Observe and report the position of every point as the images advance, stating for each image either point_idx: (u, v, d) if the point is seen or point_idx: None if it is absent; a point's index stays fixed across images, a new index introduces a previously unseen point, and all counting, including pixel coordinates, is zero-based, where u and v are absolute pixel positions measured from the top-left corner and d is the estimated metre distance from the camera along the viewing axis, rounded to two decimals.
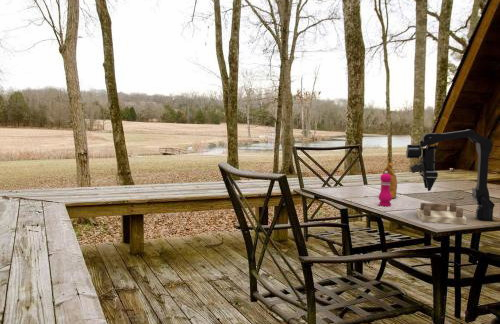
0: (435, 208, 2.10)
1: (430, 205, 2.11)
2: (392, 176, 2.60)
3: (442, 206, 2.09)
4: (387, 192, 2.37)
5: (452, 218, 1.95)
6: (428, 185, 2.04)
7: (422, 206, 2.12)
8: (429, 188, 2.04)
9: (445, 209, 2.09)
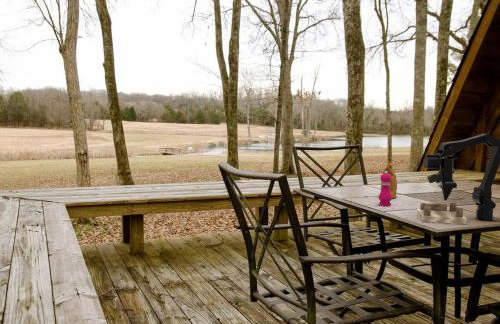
0: (435, 208, 2.10)
1: (430, 205, 2.11)
2: (392, 176, 2.60)
3: (442, 206, 2.09)
4: (387, 192, 2.37)
5: (452, 218, 1.95)
6: (444, 195, 2.03)
7: (422, 206, 2.12)
8: (445, 197, 2.04)
9: (445, 209, 2.09)
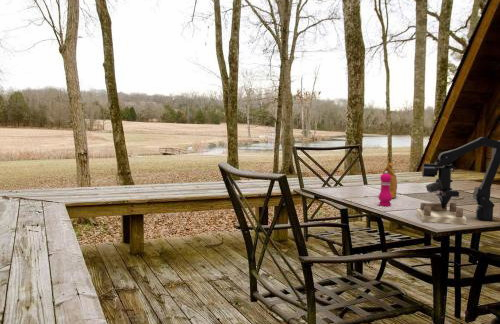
0: (435, 208, 2.11)
1: (430, 205, 2.11)
2: (392, 176, 2.60)
3: None
4: (387, 192, 2.37)
5: (452, 218, 1.95)
6: (443, 203, 2.08)
7: (422, 206, 2.12)
8: (444, 206, 2.08)
9: (445, 209, 2.10)
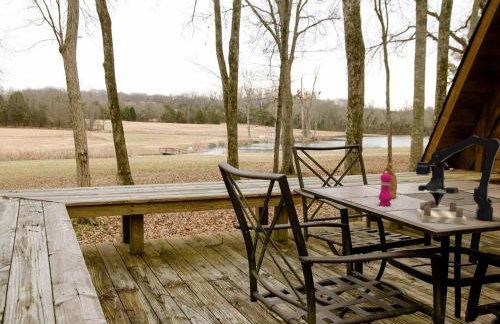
0: (432, 206, 2.15)
1: (429, 204, 2.14)
2: (392, 176, 2.60)
3: (435, 203, 2.17)
4: (387, 192, 2.37)
5: (452, 218, 1.95)
6: (438, 200, 2.15)
7: None
8: (438, 203, 2.16)
9: (437, 206, 2.18)
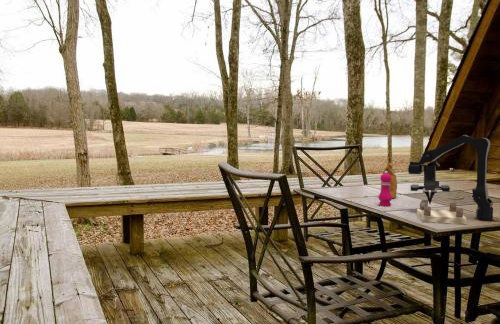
0: None
1: (426, 203, 2.15)
2: (392, 176, 2.60)
3: (427, 202, 2.20)
4: (387, 192, 2.37)
5: (452, 218, 1.95)
6: (431, 199, 2.19)
7: None
8: (430, 202, 2.20)
9: (427, 204, 2.22)
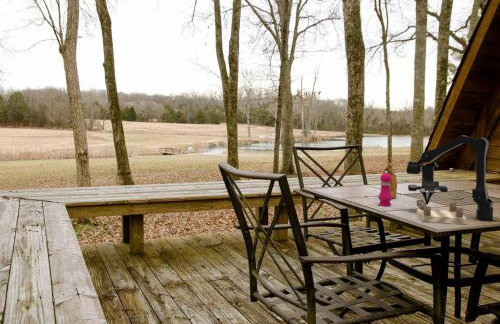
0: None
1: None
2: (392, 176, 2.60)
3: None
4: (387, 192, 2.37)
5: (452, 218, 1.95)
6: None
7: None
8: None
9: None
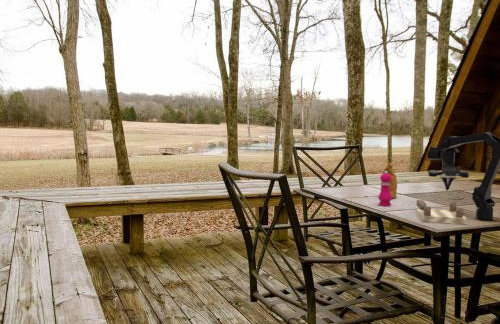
0: None
1: None
2: (392, 176, 2.60)
3: None
4: (387, 192, 2.37)
5: (452, 218, 1.95)
6: None
7: None
8: None
9: None
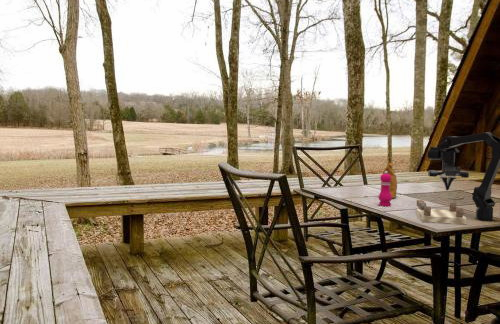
0: None
1: None
2: (392, 176, 2.60)
3: None
4: (387, 192, 2.37)
5: (452, 218, 1.95)
6: None
7: None
8: None
9: None
